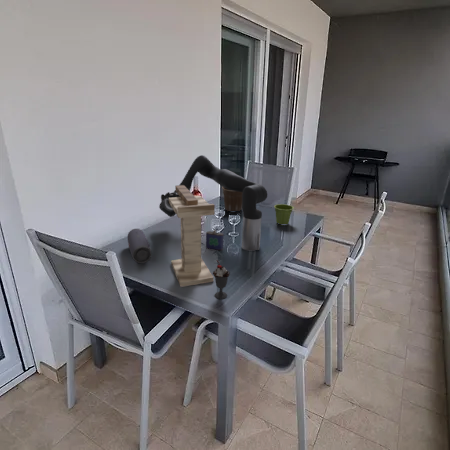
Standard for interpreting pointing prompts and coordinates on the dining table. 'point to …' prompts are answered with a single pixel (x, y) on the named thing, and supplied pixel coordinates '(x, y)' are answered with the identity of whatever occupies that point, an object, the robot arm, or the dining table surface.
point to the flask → (214, 240)
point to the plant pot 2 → (283, 213)
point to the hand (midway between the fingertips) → (177, 193)
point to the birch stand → (191, 242)
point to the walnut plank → (186, 195)
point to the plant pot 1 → (232, 200)
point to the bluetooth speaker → (139, 246)
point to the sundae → (221, 280)
